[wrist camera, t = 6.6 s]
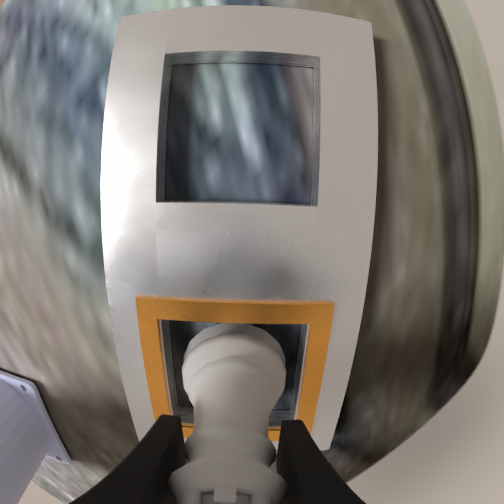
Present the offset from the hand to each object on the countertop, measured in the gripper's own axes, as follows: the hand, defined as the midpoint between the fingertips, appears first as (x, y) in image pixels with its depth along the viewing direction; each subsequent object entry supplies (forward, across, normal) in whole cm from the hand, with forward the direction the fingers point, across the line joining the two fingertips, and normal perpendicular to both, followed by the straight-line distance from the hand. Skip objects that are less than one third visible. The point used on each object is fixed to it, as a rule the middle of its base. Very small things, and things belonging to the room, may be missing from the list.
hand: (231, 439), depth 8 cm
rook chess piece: (+5, 0, 0) cm, 5 cm away
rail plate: (+5, 0, -5) cm, 7 cm away
